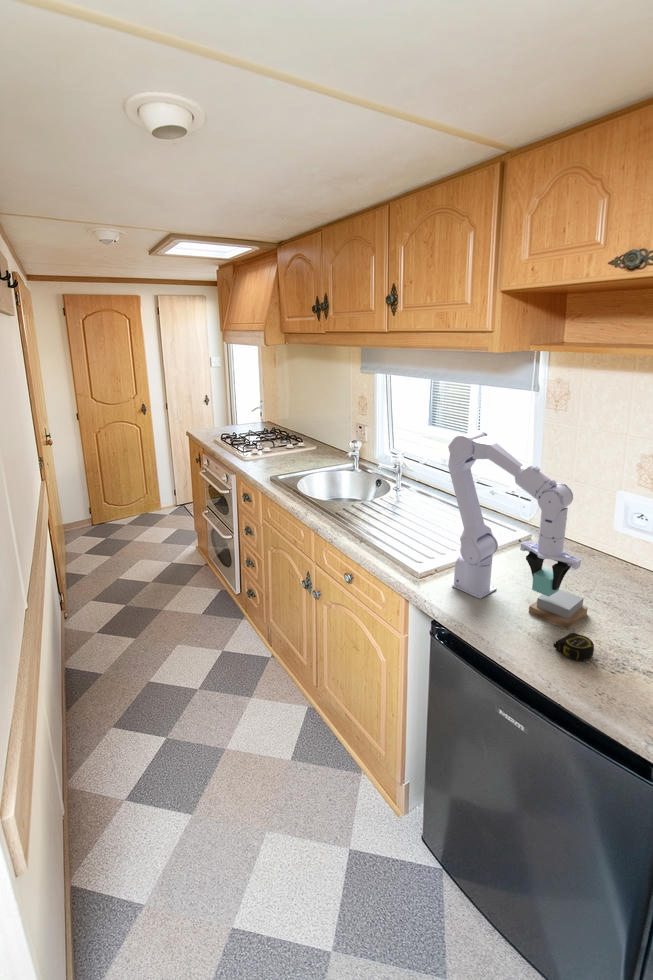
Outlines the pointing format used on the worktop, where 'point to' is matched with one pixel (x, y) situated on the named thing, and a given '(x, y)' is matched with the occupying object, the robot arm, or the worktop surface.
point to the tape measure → (575, 647)
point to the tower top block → (560, 603)
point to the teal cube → (543, 582)
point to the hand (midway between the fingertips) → (546, 584)
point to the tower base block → (557, 616)
